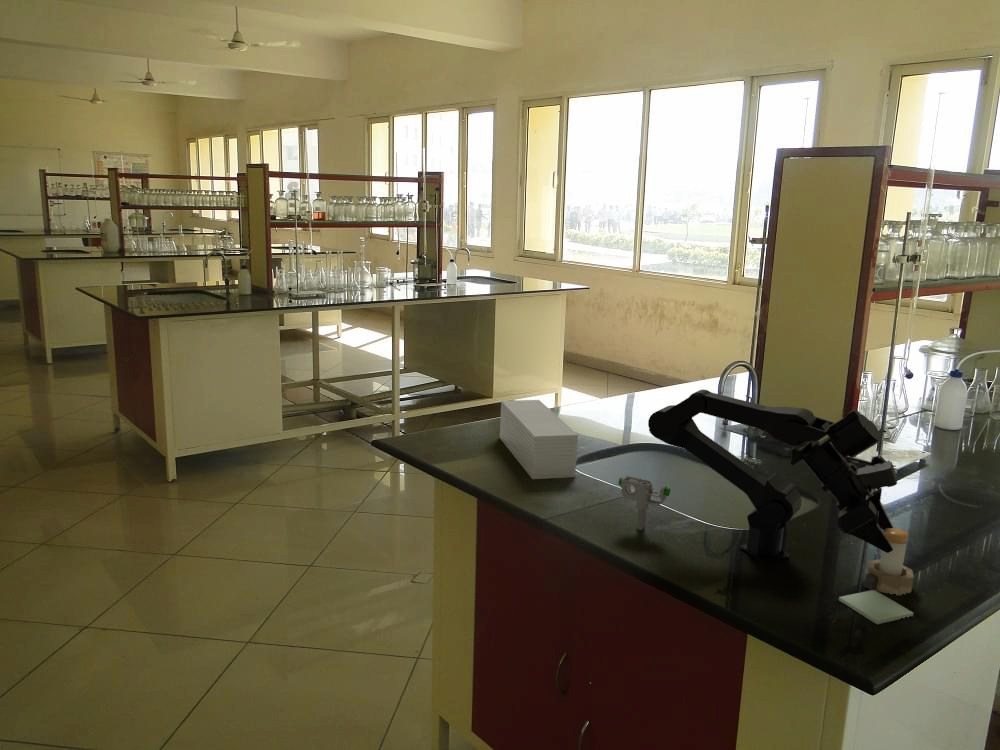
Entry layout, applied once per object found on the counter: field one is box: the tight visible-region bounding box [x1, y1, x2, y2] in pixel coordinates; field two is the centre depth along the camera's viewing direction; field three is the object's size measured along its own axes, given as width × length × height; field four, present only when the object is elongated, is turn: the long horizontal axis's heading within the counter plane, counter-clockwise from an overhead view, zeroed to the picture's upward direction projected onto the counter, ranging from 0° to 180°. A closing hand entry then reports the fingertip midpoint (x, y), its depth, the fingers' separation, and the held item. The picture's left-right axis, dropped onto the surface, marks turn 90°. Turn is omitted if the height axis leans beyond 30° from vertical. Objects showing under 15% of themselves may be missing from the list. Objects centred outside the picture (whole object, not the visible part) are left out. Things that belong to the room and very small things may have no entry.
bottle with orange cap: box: [879, 527, 909, 577], centre depth 137 cm, size 4×4×10 cm
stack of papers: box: [499, 399, 579, 480], centre depth 198 cm, size 32×11×11 cm, turn 14°
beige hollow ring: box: [863, 558, 915, 596], centre depth 138 cm, size 8×7×3 cm
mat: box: [838, 590, 914, 625], centre depth 130 cm, size 8×8×1 cm
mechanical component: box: [618, 475, 671, 531], centre depth 156 cm, size 3×10×10 cm, turn 61°
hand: (891, 541), depth 137 cm, fingers open, 9 cm apart
